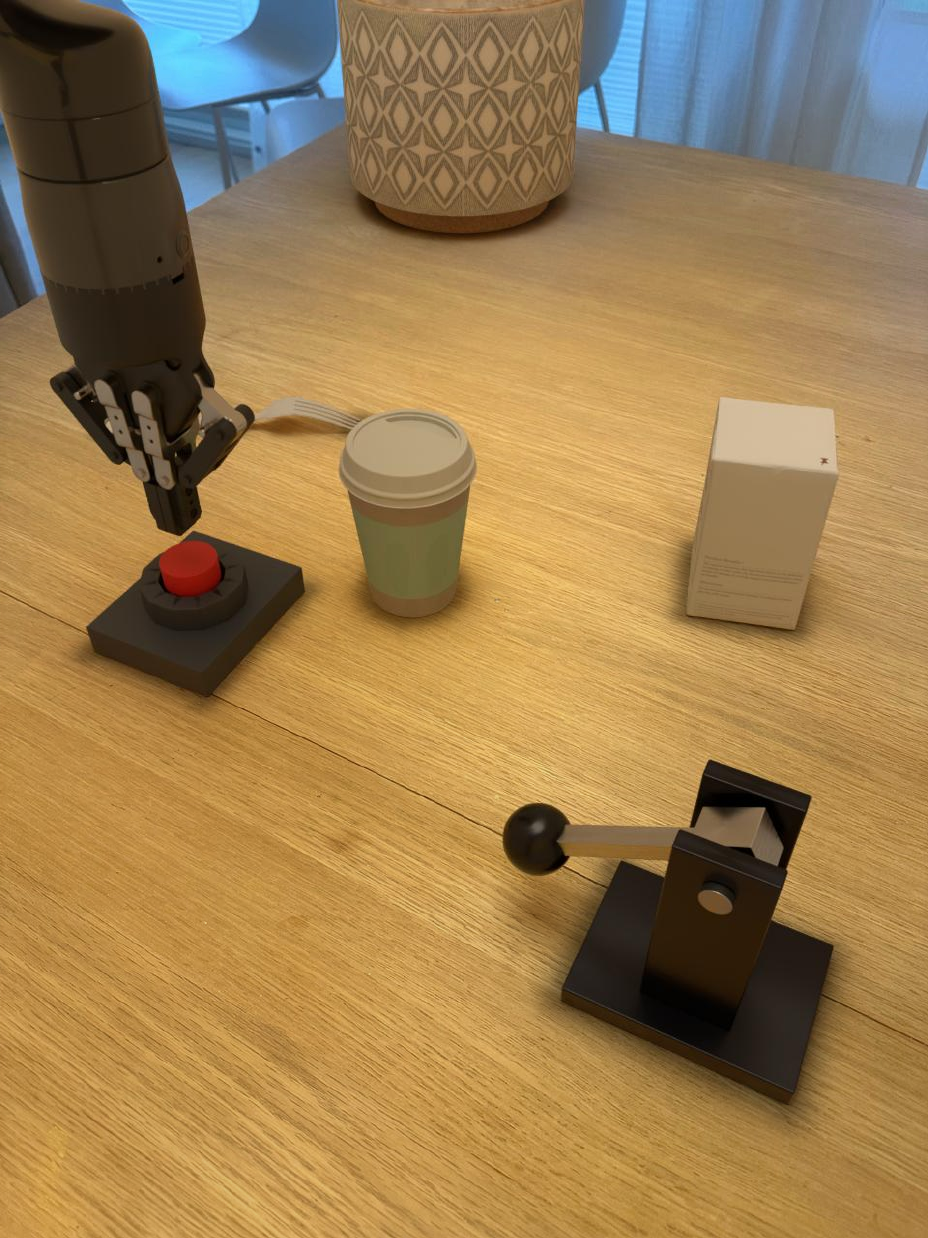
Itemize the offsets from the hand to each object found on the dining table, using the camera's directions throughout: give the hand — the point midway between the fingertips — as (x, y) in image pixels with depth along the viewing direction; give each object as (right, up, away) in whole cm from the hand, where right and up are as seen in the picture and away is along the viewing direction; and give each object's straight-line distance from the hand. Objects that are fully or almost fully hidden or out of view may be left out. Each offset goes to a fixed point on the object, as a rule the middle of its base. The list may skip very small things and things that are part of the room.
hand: (179, 525), depth 64 cm
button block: (0, -6, +6) cm, 8 cm away
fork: (-2, +10, +23) cm, 25 cm away
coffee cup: (+14, -4, +8) cm, 16 cm away
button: (0, -3, +3) cm, 4 cm away
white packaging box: (+36, -4, +8) cm, 37 cm away
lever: (+25, -17, -17) cm, 35 cm away
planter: (+17, +43, +58) cm, 75 cm away
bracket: (+29, -23, -13) cm, 39 cm away
